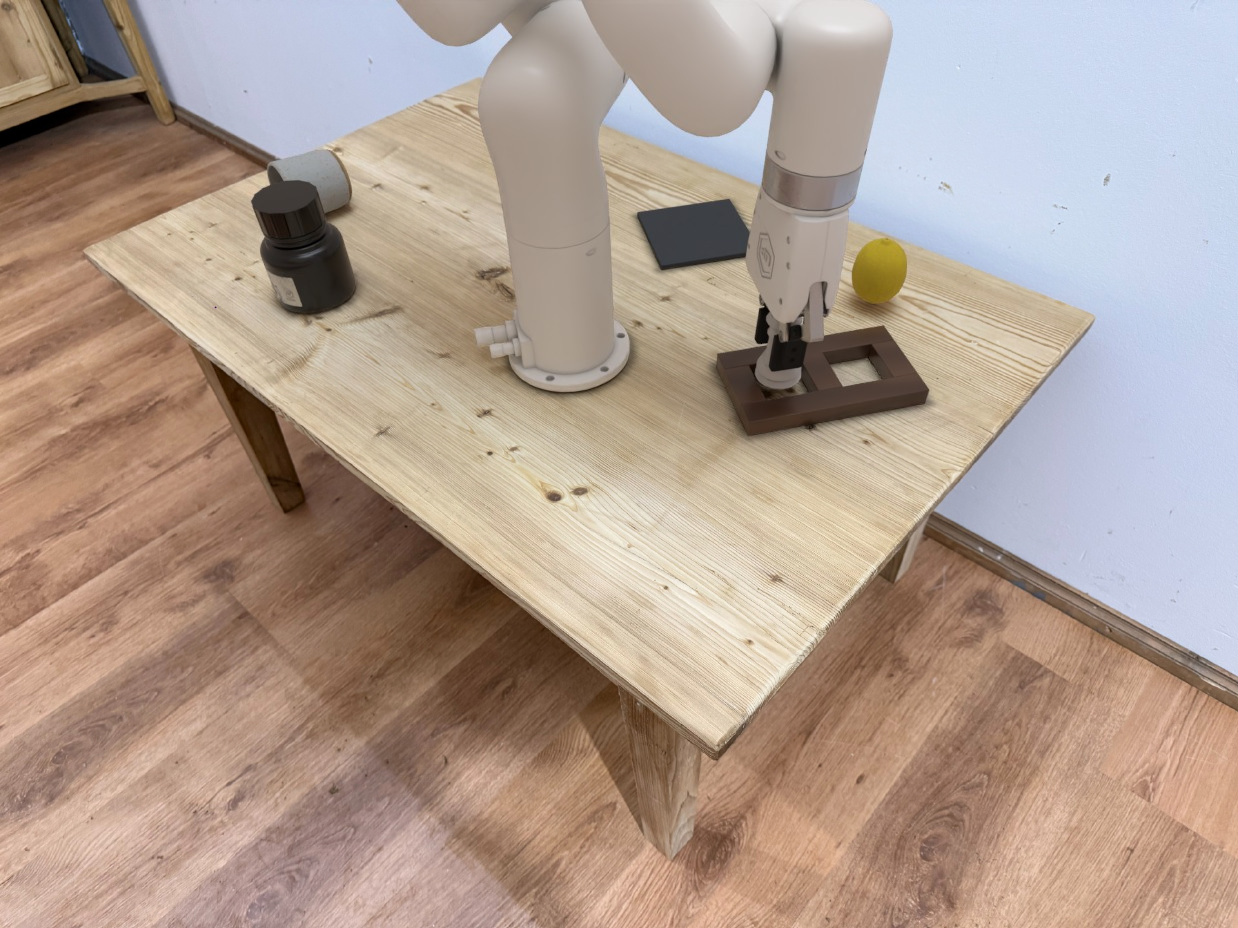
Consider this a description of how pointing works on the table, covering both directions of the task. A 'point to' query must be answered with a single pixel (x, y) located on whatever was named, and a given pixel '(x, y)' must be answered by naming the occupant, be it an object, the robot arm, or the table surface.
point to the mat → (695, 233)
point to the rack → (824, 382)
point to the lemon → (879, 270)
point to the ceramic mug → (316, 175)
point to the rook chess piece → (762, 371)
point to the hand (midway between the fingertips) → (778, 352)
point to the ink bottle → (302, 248)
